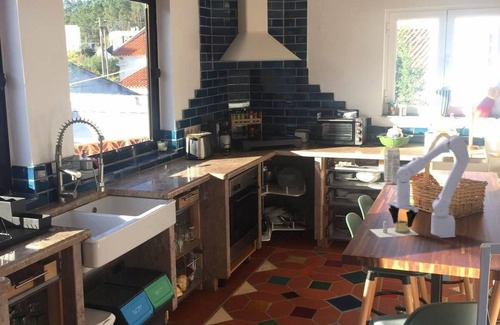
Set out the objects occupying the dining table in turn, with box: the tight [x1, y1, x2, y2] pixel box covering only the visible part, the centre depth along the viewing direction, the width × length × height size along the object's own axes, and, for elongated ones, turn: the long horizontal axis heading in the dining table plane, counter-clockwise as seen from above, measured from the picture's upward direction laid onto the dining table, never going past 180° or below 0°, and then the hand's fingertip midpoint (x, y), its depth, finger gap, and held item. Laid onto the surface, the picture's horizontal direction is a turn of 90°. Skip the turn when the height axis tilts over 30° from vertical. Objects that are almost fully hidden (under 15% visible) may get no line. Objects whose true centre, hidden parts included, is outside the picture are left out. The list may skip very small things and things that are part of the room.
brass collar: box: [395, 219, 410, 232], centre depth 248 cm, size 5×5×4 cm
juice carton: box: [383, 144, 401, 185], centre depth 350 cm, size 9×8×24 cm
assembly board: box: [369, 220, 420, 238], centre depth 247 cm, size 18×12×6 cm, turn 98°
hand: (402, 224), depth 247 cm, fingers open, 7 cm apart
